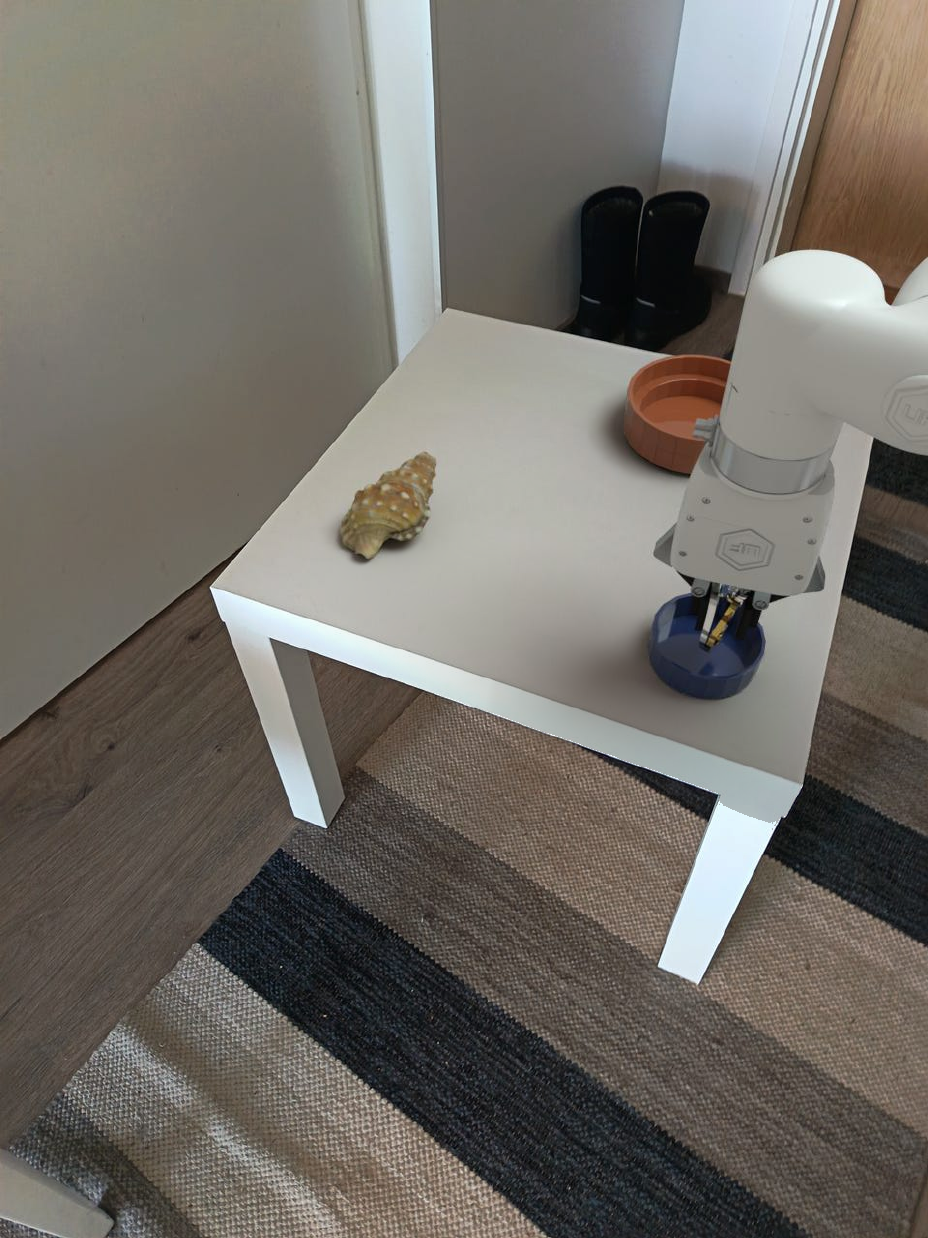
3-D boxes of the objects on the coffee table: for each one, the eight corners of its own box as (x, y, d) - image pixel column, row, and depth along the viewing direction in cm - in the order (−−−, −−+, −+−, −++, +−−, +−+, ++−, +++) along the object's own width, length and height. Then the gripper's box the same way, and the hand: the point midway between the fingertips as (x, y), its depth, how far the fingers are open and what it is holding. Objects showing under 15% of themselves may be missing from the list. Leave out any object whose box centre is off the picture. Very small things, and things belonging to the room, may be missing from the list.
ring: (713, 676, 71) (732, 614, 65) (678, 659, 72) (694, 595, 66) (750, 623, 74) (772, 559, 68) (716, 607, 76) (734, 543, 70)
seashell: (363, 520, 92) (389, 432, 87) (431, 551, 90) (460, 463, 86) (323, 544, 83) (349, 448, 79) (397, 578, 82) (428, 483, 78)
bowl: (768, 405, 97) (780, 367, 94) (751, 491, 88) (763, 453, 85) (637, 382, 101) (643, 344, 97) (609, 462, 92) (614, 424, 88)
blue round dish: (762, 628, 77) (771, 606, 75) (749, 712, 72) (758, 691, 69) (658, 603, 79) (663, 582, 77) (637, 683, 74) (642, 662, 71)
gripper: (639, 460, 57) (614, 634, 71) (899, 506, 53) (819, 681, 67) (660, 395, 62) (633, 571, 76) (902, 433, 58) (826, 611, 72)
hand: (721, 621), depth 71 cm, fingers closed on ring, 2 cm apart
